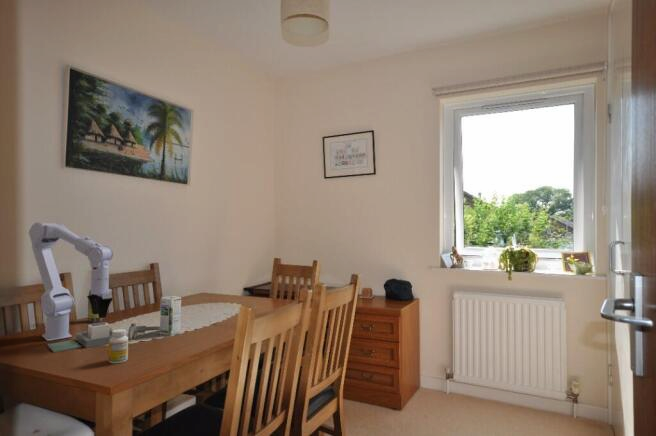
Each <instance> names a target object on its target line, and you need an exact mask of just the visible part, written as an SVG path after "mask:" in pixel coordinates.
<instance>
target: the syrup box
mask: <svg viewBox="0 0 656 436" xmlns="http://www.w3.org/2000/svg"><path fill="white" fill-rule="evenodd" d="M181 313H182V297H181V296H174V295H173V296H172V295H165V296H162V297H160V315H159V318H160V319H159V326H160V330H159V334H160V335H165V336H173V335H176V334H178V333H180V332H181V315H182V314H181Z"/></svg>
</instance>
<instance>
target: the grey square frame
mask: <svg viewBox="0 0 656 436" xmlns="http://www.w3.org/2000/svg"><path fill="white" fill-rule="evenodd" d="M113 330H114V329H113V328H110V335H109V336H107V337H101V338H95V339H90V340H89V339H88V330H87V331H82V332H76V334H75V336H76V338H75V340H76V341H77V343H80V344H81V346H83V347H84V348H86V349H88V348H95V347H99V346H105V345H109V340H110V338H112V337H113V336H112V331H113Z"/></svg>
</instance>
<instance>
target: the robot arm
mask: <svg viewBox="0 0 656 436" xmlns="http://www.w3.org/2000/svg"><path fill="white" fill-rule="evenodd" d="M28 235H29V238H30V241H31V248H32V252H33V253H32V254H33V255H34V258H35V262H36V265H37V267H38V271H39V274H40V278H41V280H42V284H43V287H44V290H45V292H44V293H43V294H42V296H41V297H40V300H41V301H40V302H41V305H40V308H41V311H42V313H43V314H44V316H46V317H45V326H44V327H45V333H44V334H42V335H41V336H42V338H44V340H46V341H47V342H50V341H55V340H56V341H57V340H62V339H69V338H72V337H73V335H72V334H71V333H70V313H71V311H72V310H73V308H74V306H75V299H74V297H73V295H71V293H70V290H69V289H68V288H67V287H64V286H63V283H62V281H61V278H60V275H59V271H58V269H57V266H56V262H55V259H54V256H53V253H52V247H53V246H55V245H56V243H57V242H58V241H60V239H61V240H63V241H65V242H67V243H69V244H71V245H73V246H74V249H75V251H77V252H79V253H81V254H83V255H84V256H86V257H87V258H88V261H89V264H90V267H91V268H90V269H91V272H90V273H91V277H90V290H91V291H90V290H89V291H90V294H92V295H89V294H88V295H87V296H86V297H87V299H89V301H90V304H91V308H92V313H93V314H98V316H99V318H103V319H104V318H106V317H107V315H108V310H109V308H110V305H111V303H112V301H113V298H112V297H110V293H111V292H113V290H112V289H110V287H109V283H110V282H109V281H110V261H111V260H112V258H113V256H114V253H113V249H112V248H111V247H110V246H109V245H104V246H103V245H101V243H99V242H95V241H94V240H92V238H91V237H90V236H82V237H80V236H79V235H77V234H76V233H74V232H73V231H72V230H69V229H68V228H67V227H66V225H65V224H64V225H63V224H62V223H60V222H34V223H33V224H32V225H31V227H30V229H29V230H28Z"/></svg>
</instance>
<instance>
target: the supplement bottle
mask: <svg viewBox="0 0 656 436" xmlns="http://www.w3.org/2000/svg"><path fill="white" fill-rule="evenodd" d="M112 330H113V331H112V336H113V337H112V338H110V340H109V344H108V362H109V363H110V364H122V363H126V361H128V358H129V340H128V335H127V329H125V328H118V329H112Z"/></svg>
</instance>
